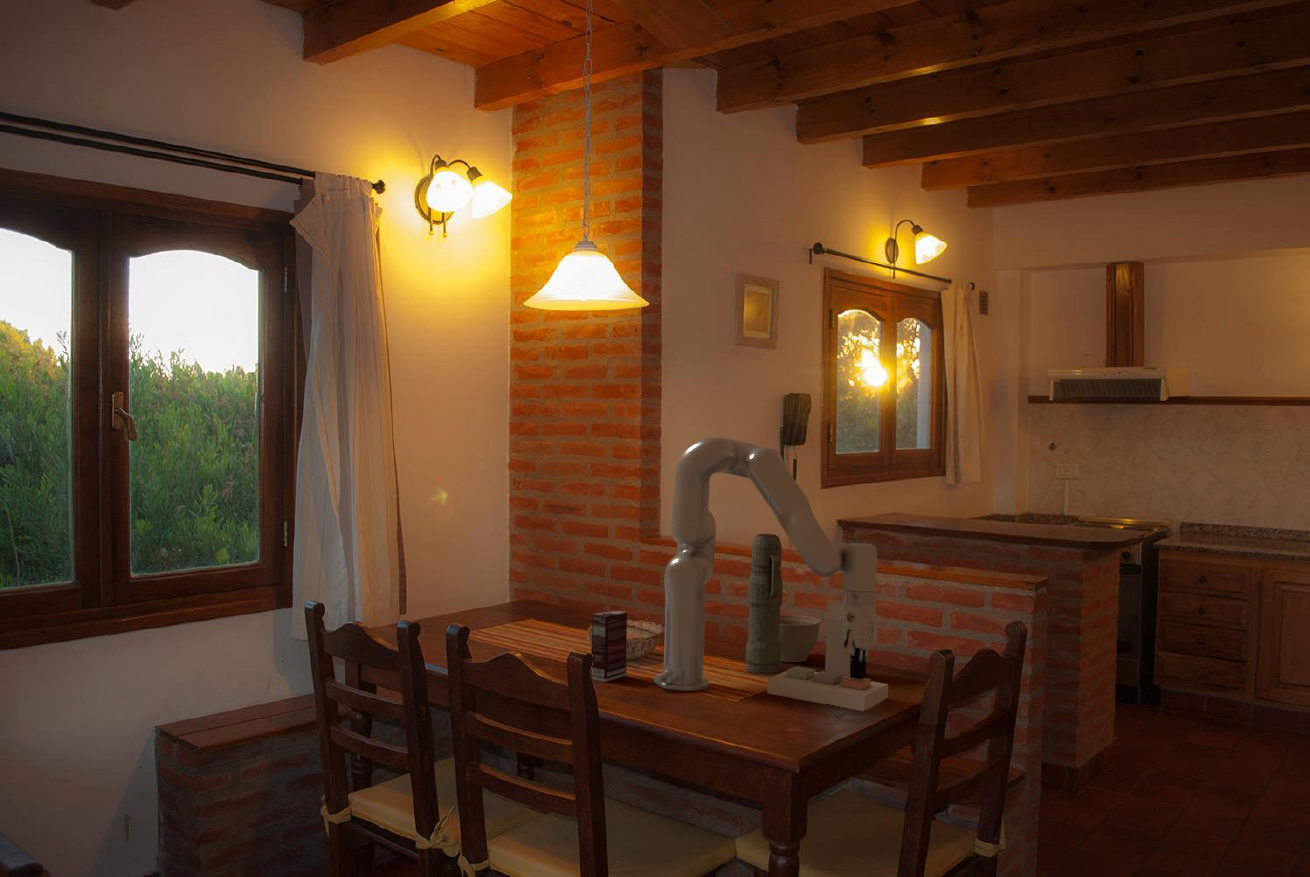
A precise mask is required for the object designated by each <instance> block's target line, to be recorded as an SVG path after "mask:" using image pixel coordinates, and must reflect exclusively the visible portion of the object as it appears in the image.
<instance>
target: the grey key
mask: <svg viewBox="0 0 1310 877" xmlns="http://www.w3.org/2000/svg"><path fill="white" fill-rule="evenodd" d="M818 672H819V673H816V674H814V676H813V682H816V683H822V684H827V685H833V686H835V685H837V684H840V683H842V674H838V673H832V672H826V671H825V670H821V671H818Z"/></svg>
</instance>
